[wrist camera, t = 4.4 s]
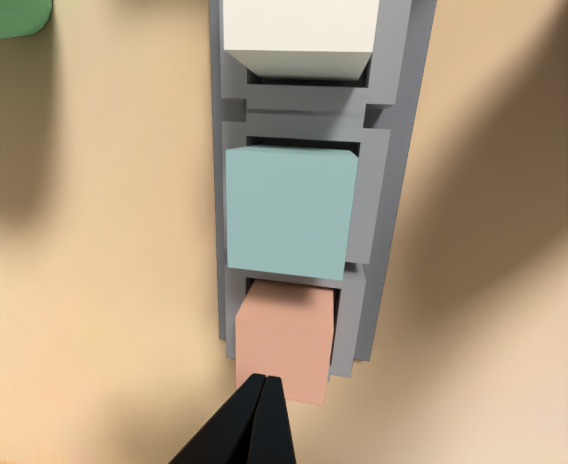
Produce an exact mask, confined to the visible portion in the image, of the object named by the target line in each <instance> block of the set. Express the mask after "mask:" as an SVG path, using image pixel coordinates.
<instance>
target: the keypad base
mask: <svg viewBox="0 0 568 464" xmlns="http://www.w3.org/2000/svg"><path fill="white" fill-rule="evenodd" d="M436 2H437V0H379V7H378V15H377V23H376V30H375V38H374V45H373V52H372V54H371V56H370V58H369V60H368V62H367V64H366V66H365V68H364V70H363V72H362V74H361V76H360V78H359V80H358V81H336V80H302V79H268V78H260V77H258V76H257V75H256V74H255V73H253V72H252V71H251V70H249V69H248V68H247V67H246V66H244V65H243V64H242V63H240V62H239V61H238V60H237V59H235V58H234V57H233V56H231V55H230V54H229V53H228V52H226V51H225V50H224V26H223V0H209V16H210V48H211V81H212V114H213V147H214V180H215V213H216V245H217V278H218V311H219V339H225V340H226V352H227V358H230V359H236V328H235V317H236V315H237V313H238V311H239V309H240V307H241V305H242V303H243V301H244V299H245V298H246V296H247V294H248V292H249V290H250V288H251V286H252V284H253V282H254V280H255V278H257V279H265V280H273V281H281V282H290V283H298V284H306V285H315V286H323V287H331V288H333V319H334V332H333V340H332V347H331V355H330V363H329V370H328V378H327V382H329V379H330V374H331V375H337V376H343V377H349V378H350V377H351V371H352V365H353V359H357V360H364V361H369V360H370V355H371V350H372V344H373V339H374V334H375V328H376V323H377V318H378V312H379V307H380V302H381V296H382V291H383V286H384V280H385V275H386V269H387V264H388V259H389V253H390V248H391V243H392V237H393V232H394V227H395V221H396V216H397V211H398V205H399V200H400V195H401V189H402V184H403V179H404V173H405V168H406V163H407V157H408V152H409V147H410V141H411V136H412V130H413V125H414V120H415V114H416V109H417V104H418V98H419V93H420V88H421V82H422V77H423V72H424V66H425V61H426V56H427V50H428V45H429V40H430V34H431V29H432V24H433V18H434V13H435V7H436ZM259 144H261V145H277V146H294V147H311V148H328V149H344V150H350V151H351V152H352V153H353V154H355V155H356V156H357V157H358V158H359V159H358V166H357V174H356V181H355V189H354V196H353V204H352V212H351V219H350V227H349V234H348V242H347V249H346V257H345V265H344V272H343V280H342V281H341V280H332V279H324V278H315V277H307V276H298V275H290V274H281V273H273V272H264V271H256V270H247V269H238V268H230V267H228V261H227V202H226V150H227V149H234V148H240V147H246V146H253V145H259Z"/></svg>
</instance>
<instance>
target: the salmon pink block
mask: <svg viewBox="0 0 568 464" xmlns="http://www.w3.org/2000/svg"><path fill="white" fill-rule="evenodd" d="M235 328H236V390H237V389H238V388H239V387H240V386H241V385H242V384H243V383H244V382H245V381H246V380H247V378H248V377H249V376H250V375H251V374H253V373H259V374H265V375H266V376H268V375H271V376H278V377H281V379H282V384H283V390H284V395H285V399H286V400H292V401H298V402H304V403H309V404H315V405H321V406H324V401H325V394H326V386H327V378H328V370H329V363H330V355H331V347H332V340H333V332H334V319H333V288H331V287H323V286H315V285H306V284H298V283H290V282H281V281H273V280H265V279H257V278H255V280H254V282H253V284H252V286H251V288H250V290H249V292H248V294H247V296H246V298H245V299H244V301H243V303H242V305H241V307H240V309H239V311H238V313H237V315H236V317H235Z"/></svg>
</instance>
